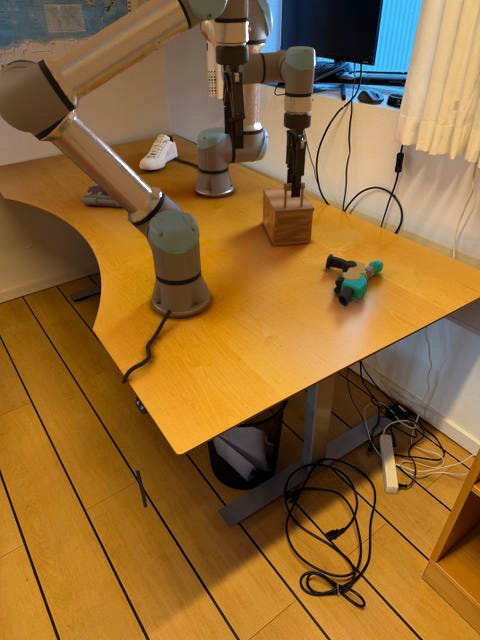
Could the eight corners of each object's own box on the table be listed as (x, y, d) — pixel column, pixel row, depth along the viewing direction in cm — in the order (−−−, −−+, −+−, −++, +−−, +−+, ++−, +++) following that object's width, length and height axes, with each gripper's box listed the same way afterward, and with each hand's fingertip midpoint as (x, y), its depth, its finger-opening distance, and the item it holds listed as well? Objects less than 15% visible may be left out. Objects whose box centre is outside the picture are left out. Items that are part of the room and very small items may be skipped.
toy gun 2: (303, 285, 123) (360, 300, 117) (335, 245, 141) (386, 256, 135) (302, 300, 125) (358, 315, 119) (334, 258, 144) (383, 270, 138)
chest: (310, 242, 153) (313, 209, 146) (273, 245, 151) (274, 212, 145) (296, 220, 167) (298, 189, 160) (262, 223, 165) (263, 192, 159)
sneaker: (133, 173, 208) (129, 144, 201) (161, 153, 230) (158, 127, 223) (155, 175, 205) (151, 146, 198) (180, 155, 227) (178, 129, 220)
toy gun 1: (139, 195, 187) (124, 210, 175) (95, 192, 190) (77, 207, 178) (137, 185, 184) (122, 200, 173) (93, 182, 188) (75, 197, 176)
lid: (314, 211, 145) (316, 184, 140) (275, 214, 144) (276, 187, 139) (298, 189, 160) (299, 164, 155) (263, 191, 159) (263, 167, 154)
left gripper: (258, 50, 98) (257, 154, 110) (239, 37, 118) (240, 127, 130) (222, 51, 97) (225, 156, 110) (209, 38, 117) (213, 128, 129)
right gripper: (320, 118, 124) (313, 203, 138) (302, 104, 138) (297, 182, 152) (292, 120, 123) (288, 205, 137) (277, 105, 137) (274, 183, 151)
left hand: (233, 140), depth 120 cm, fingers open, 13 cm apart
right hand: (293, 193), depth 144 cm, fingers open, 5 cm apart
